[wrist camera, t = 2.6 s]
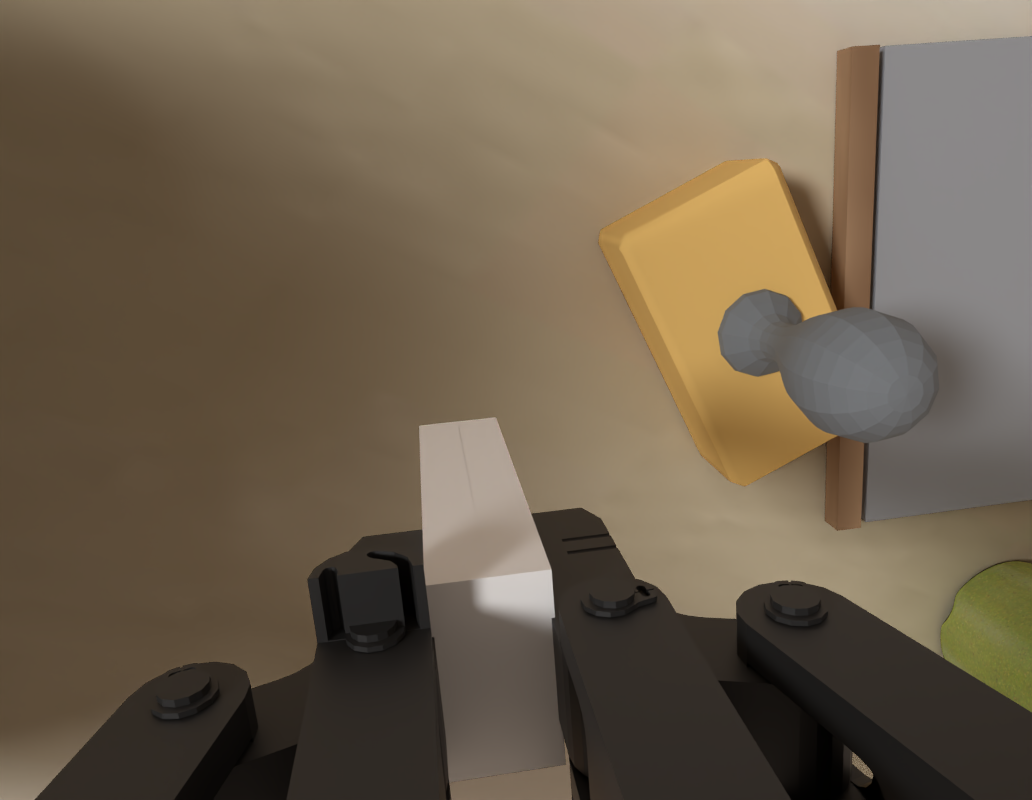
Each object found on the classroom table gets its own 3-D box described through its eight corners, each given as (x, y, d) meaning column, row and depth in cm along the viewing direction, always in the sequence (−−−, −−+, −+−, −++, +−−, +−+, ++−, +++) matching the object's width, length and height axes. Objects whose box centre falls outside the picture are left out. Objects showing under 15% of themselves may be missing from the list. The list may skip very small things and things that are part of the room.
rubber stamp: (829, 388, 32) (1067, 503, 21) (700, 459, 32) (867, 612, 21) (732, 156, 29) (947, 139, 18) (592, 233, 29) (716, 266, 18)
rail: (824, 520, 34) (837, 530, 33) (837, 50, 29) (852, 46, 28) (847, 517, 34) (860, 527, 33) (863, 49, 29) (879, 44, 28)
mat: (857, 516, 34) (866, 522, 33) (876, 48, 29) (885, 45, 28) (1098, 484, 35) (1110, 489, 34) (1154, 30, 30) (1169, 27, 30)
